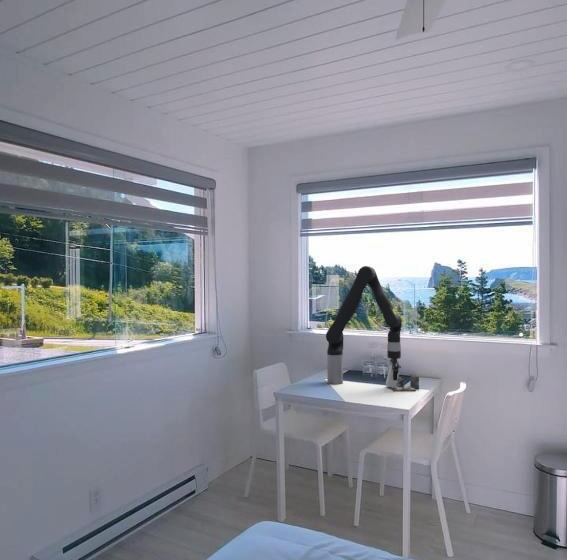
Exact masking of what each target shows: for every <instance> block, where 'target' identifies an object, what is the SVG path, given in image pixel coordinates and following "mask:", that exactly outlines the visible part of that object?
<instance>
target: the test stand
mask: <svg viewBox="0 0 567 560" xmlns="http://www.w3.org/2000/svg"><path fill="white" fill-rule="evenodd" d="M409 377H410V378H409V380H410V383H409V385H410V387H404V389H403V388H402V387H396V388H391V389H392V391H393V392H416V391H417V390H419V389H420V377H419V375H417V374H416V373H410V374H409Z"/></svg>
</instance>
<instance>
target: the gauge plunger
mask: <svg viewBox="0 0 567 560" xmlns="http://www.w3.org/2000/svg"><path fill="white" fill-rule="evenodd" d="M398 381H400V384H398V385H399V387H400V388H403V389H404V388H405V385H404V379H403V378H402V376H399V377H398Z"/></svg>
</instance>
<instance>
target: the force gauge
mask: <svg viewBox="0 0 567 560" xmlns="http://www.w3.org/2000/svg"><path fill="white" fill-rule="evenodd" d="M392 366H393V364H392V365H390V364H389V368H388V373H387V377H386V381H385V386H386V387H388V388H391V389H392V388H397V385H399V384H400V381H398V377H400V372H401V368H402V366H401V364H399V367H398V374H397V380H393V370H392ZM393 368H394V366H393ZM395 371H396V370H395Z"/></svg>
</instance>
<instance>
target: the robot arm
mask: <svg viewBox="0 0 567 560" xmlns="http://www.w3.org/2000/svg"><path fill="white" fill-rule="evenodd" d="M367 285H368V287H369V288H370V290H371V292H372V295H373V297H374V300H375V302H376V304H377V306H378V309H379V310H380V312H381V313H382V317H383V320H384V322H385V324H386V325H387V327H389V331H388V333H387V344H386V345H387V346H386V348H387V351H386V352H387V353H386V354H387V356H386V357H387V358H388V359H389V366H390V365H392V364H393V366H394V368H393V366H392V370H393V380H397V374H398V367H399V365H400V364H399V361H398V360H399V359H401V357H402V352H401V351H402V347H401V333H402V332H401V331H402V323H403V321H402V318H401V316H400V315H398V314H395V313H394V310H393V308H394V307H393V305H392V302H391V301H390V300H389V298H388V296H387V293H385V291H384V289H383V287H382V284H381V283H380V280H379V277H378V275H377V272H376V269H375V268H373V267H371V266H369V265H368V266H367V265H363V266H362V267H360V268H359V270H358V271H357V274H356V276H355V279H354V281H353V283H352V286H351V287H350V290H348V292H347V295H346V296H345V298H344V300H343V301H342V304H341V305H340V308H339V310H338V312H337V315H336V316H335V319H334V321H333V322H332V324H331V326H330V327H329V328H328V330H327V331H326V333H325V334H326V335H325V340H326V341H327V343H328V347H327V349H326V352H327V353H326V354H327V355H326V356H327V358H326V361H327V362H326V363H327V365H326V369H327V371H326V372H327V373H326V376H327V377H326V379H327V380H326V381H327V384H331V385H340V384H343V383H344V382H343V381H344V377H343V375H344V371H343V369H344V368H343V367H344V366H343V359H344V357H343V356H344V355H343V354H344V353H343V351H344V332H343V331H344V330H345V328H346V326H347V325H348V323H349V322H350V321H351V319H352V318H353V317H354V315H355V313H357V312H356V311H357V310H358V308H359V306H360V304H361V301H362V297H363V294H364V293H363V292H364V290H365V289H366V286H367ZM395 370H396V371H395Z"/></svg>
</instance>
